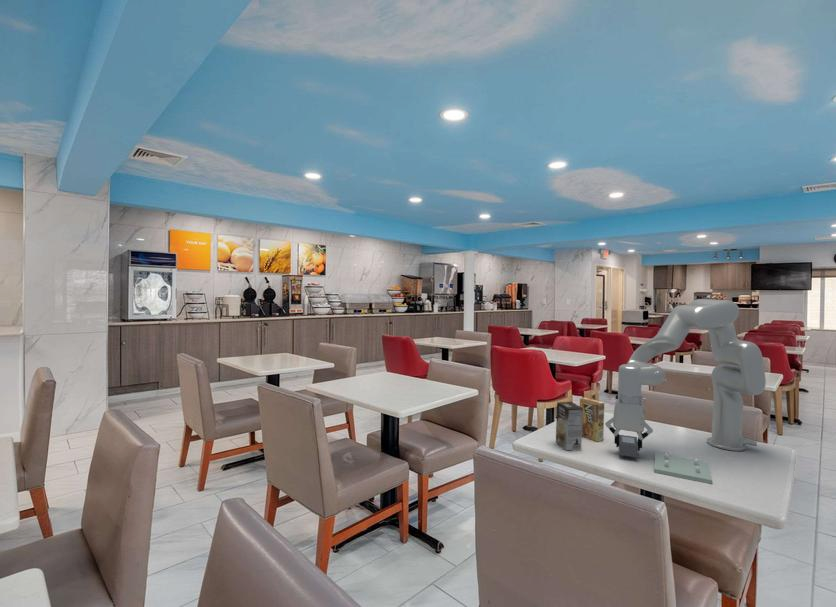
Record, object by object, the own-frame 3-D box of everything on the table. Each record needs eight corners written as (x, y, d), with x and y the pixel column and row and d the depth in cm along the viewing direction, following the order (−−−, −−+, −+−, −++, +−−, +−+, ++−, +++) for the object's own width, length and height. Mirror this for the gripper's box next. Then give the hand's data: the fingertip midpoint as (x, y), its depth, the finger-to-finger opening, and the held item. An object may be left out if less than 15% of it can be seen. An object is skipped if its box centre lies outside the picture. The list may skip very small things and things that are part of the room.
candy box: (603, 440, 174) (605, 402, 174) (597, 442, 172) (598, 403, 171) (584, 433, 182) (585, 397, 181) (578, 435, 179) (579, 398, 179)
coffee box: (554, 442, 171) (556, 401, 170) (570, 441, 172) (571, 401, 171) (566, 451, 162) (567, 408, 161) (582, 450, 163) (583, 408, 162)
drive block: (636, 447, 162) (636, 436, 162) (637, 457, 153) (638, 445, 153) (618, 445, 164) (619, 434, 164) (619, 454, 155) (619, 443, 155)
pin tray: (707, 466, 151) (708, 456, 150) (712, 484, 137) (712, 474, 137) (654, 456, 158) (655, 447, 158) (654, 472, 145) (654, 462, 144)
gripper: (656, 399, 157) (655, 448, 158) (604, 393, 165) (603, 440, 166) (656, 404, 150) (654, 456, 151) (602, 398, 159) (601, 446, 160)
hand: (628, 447), depth 159 cm, fingers closed on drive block, 6 cm apart
